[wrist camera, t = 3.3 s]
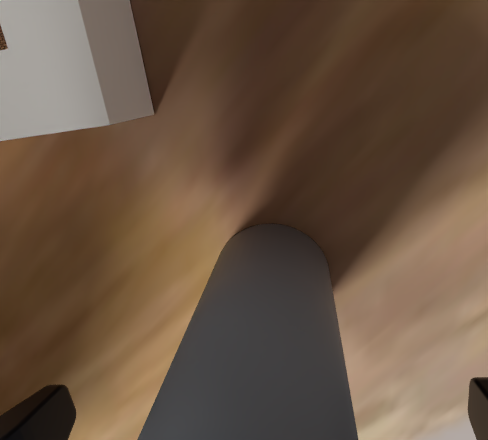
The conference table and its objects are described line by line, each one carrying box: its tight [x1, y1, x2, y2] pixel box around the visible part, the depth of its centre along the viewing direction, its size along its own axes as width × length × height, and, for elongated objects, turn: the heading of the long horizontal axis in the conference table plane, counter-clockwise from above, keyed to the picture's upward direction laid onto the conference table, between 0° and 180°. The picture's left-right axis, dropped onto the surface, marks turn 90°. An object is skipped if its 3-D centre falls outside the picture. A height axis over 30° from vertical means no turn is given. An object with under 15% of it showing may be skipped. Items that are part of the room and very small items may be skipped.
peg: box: [138, 224, 358, 440], centre depth 9 cm, size 4×4×8 cm
